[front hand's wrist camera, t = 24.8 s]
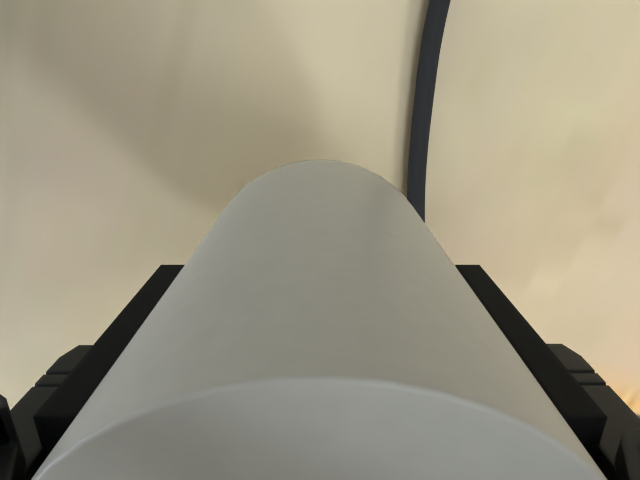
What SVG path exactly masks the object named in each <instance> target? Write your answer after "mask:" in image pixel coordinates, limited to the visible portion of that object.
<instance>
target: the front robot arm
mask: <svg viewBox="0 0 640 480" xmlns="http://www.w3.org/2000/svg"><path fill="white" fill-rule="evenodd" d="M449 4H450V0H430V1H429V6H428V11H427V15H426V20H425V26H424V31H423V36H422V43H421V49H420V55H419V63H418V71H417V80H416V89H415V98H414V107H413V116H412V126H411V137H410V149H409V163H408V186H407V200H408V201H409V203H410V204H411V205H412V206H413V208H414V209H415V210H416V212H417V213H418V215H419V216H420V217H421V219H422V220H423V222H424V223H425V180H426V164H427V152H428V141H429V132H430V123H431V114H432V106H433V98H434V90H435V82H436V74H437V67H438V60H439V53H440V48H441V42H442V37H443V32H444V27H445V22H446V17H447V13H448V8H449ZM183 267H184V265H161V266H160V267H159V268H158V269H157V270H156V271H155V273H154V274H153V275H152V276H151V277H150V279H149V280H148V281H147V282H146V283H145V285H144V286H143V287H142V288H141V289H140V290H139V292H138V293H137V294H136V295H135V296H134V298H133V299H132V300H131V301H130V302H129V303H128V305H127V306H126V307H125V308H124V309H123V311H122V312H121V313H120V314H119V315H118V317H117V318H116V319H115V320H114V321H113V322H112V324H111V325H110V326H109V327H108V328H107V330H106V331H105V332H104V333H103V334H102V335H101V337H100V338H99V339H98V340H97V341H96V343H95V344H94V345H79V346H77V347H75V348H74V349H72V350H71V351H69V352H68V353H66V354H64V355H63V356H61V357H60V358H59V359H58V360H57V361H56V362H55V363H54V364H53V365H52V366H51V367H50V368H49V369H48V371H47V372H46V375H43V376H42V377H41V378H40V379H39V380H38V381H37V382H36V383H35V387H32V388H31V389H30V390H29V391H28V392H27V393H26V394H25V395H24V396H23V398H22V399H21V400H20V401H19V402H18V403H17V404H16V405H15V406H14V407H13V408H12V409H11V410H10V409H9V406H8V403H7V400H6V398H5V397H3V396H2V395H0V480H31V479H32V478H33V476H34V475H35V473H36V472H37V471H38V469H39V468H40V466H41V465H42V464H43V462H44V461H45V459H46V458H47V457H48V455H49V454H50V452H51V451H52V450H53V448H54V447H55V446H56V444H57V443H58V441H59V440H60V439H61V437H62V436H63V434H64V433H65V432H66V430H67V429H68V427H69V426H70V425H71V423H72V422H73V420H74V419H75V418H76V416H77V415H78V413H79V412H80V411H81V409H82V408H83V406H84V405H85V404H86V402H87V401H88V399H89V398H90V397H91V395H92V394H93V392H94V391H95V390H96V388H97V387H98V386H99V384H100V383H101V381H102V380H103V379H104V377H105V376H106V374H107V373H108V372H109V370H110V369H111V367H112V366H113V365H114V363H115V362H116V360H117V359H118V358H119V356H120V355H121V353H122V352H123V351H124V349H125V348H126V346H127V345H128V344H129V342H130V341H131V339H132V338H133V337H134V335H135V334H136V332H137V331H138V330H139V328H140V327H141V325H142V324H143V323H144V321H145V320H146V319H147V317H148V316H149V314H150V313H151V312H152V310H153V309H154V307H155V306H156V305H157V303H158V302H159V300H160V299H161V298H162V296H163V295H164V293H165V292H166V291H167V289H168V288H169V286H170V285H171V284H172V282H173V281H174V279H175V278H176V277H177V275H178V274H179V272H180V271H181V270H182V268H183ZM455 267H456V268H457V269H458V271H459V272H460V274H461V275H462V276H463V278H464V279H465V281H466V282H467V283H468V285H469V286H470V288H471V289H472V290H473V292H474V293H475V295H476V296H477V297H478V299H479V300H480V302H481V303H482V304H483V306H484V307H485V309H486V310H487V312H488V313H489V314H490V316H491V317H492V319H493V320H494V321H495V323H496V324H497V326H498V327H499V328H500V330H501V331H502V333H503V334H504V335H505V337H506V338H507V340H508V341H509V342H510V344H511V345H512V347H513V348H514V349H515V351H516V352H517V354H518V355H519V356H520V358H521V359H522V361H523V362H524V363H525V365H526V366H527V368H528V369H529V370H530V372H531V373H532V375H533V376H534V378H535V379H536V380H537V382H538V383H539V385H540V386H541V387H542V389H543V390H544V392H545V393H546V394H547V396H548V397H549V399H550V400H551V401H552V403H553V404H554V406H555V407H556V408H557V410H558V411H559V413H560V414H561V415H562V417H563V418H564V420H565V421H566V422H567V424H568V425H569V427H570V428H571V429H572V431H573V432H574V434H575V435H576V436H577V438H578V439H579V441H580V442H581V443H582V445H583V446H584V448H585V449H586V451H587V452H588V453H589V455H590V456H591V458H592V459H593V460H594V462H595V463H596V465H597V466H598V467H599V469H600V470H601V472H602V473H603V474H604V476H605V477H606V479H607V480H640V419H639V418H638V417H637V415H636V414H635V413H634V412H633V411H632V410H631V409H630V408H629V407H628V406H627V405H626V404H625V403H624V402H623V400H622V399H621V398H620V397H619V396H618V395H617V394H616V393H615V392H614V391H613V390H612V389H611V388H610V387H609V386H606V382H605V381H604V380H603V379H602V378H601V377H600V376H599V375H598V374H597V373H595V372H594V371H595V370H594V369H593V368H592V367H591V366H590V365H589V364H588V363H587V362H586V361H585V360H584V359H583V358H582V357H581V356H580V355H579V354H577V353H575V352H574V351H572V350H571V349H569V348H567V347H566V346H564V345H563V344H546V343H545V342H544V341H543V340H542V339H541V337H540V336H539V335H538V334H537V333H536V332H535V330H534V329H533V328H532V327H531V326H530V324H529V323H528V322H527V321H526V320H525V319H524V317H523V316H522V315H521V314H520V313H519V311H518V310H517V309H516V308H515V307H514V305H513V304H512V303H511V302H510V301H509V300H508V298H507V297H506V296H505V295H504V294H503V292H502V291H501V290H500V289H499V288H498V287H497V285H496V284H495V283H494V282H493V281H492V279H491V278H490V277H489V276H488V275H487V273H486V272H485V271H484V270H483V269H482V268H481V266H480V265H455Z"/></svg>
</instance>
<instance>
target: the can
mask: <svg viewBox="0 0 640 480" xmlns="http://www.w3.org/2000/svg"><path fill="white" fill-rule="evenodd" d="M31 480H607V479H606V477H605V476H604V474H603V473H602V472H601V470H600V469H599V467H598V466H597V465H596V463H595V462H594V460H593V459H592V458H591V456H590V455H589V453H588V452H587V451H586V449H585V448H584V446H583V445H582V443H581V442H580V441H579V439H578V438H577V436H576V435H575V434H574V432H573V431H572V429H571V428H570V427H569V425H568V424H567V422H566V421H565V420H564V418H563V417H562V415H561V414H560V413H559V411H558V410H557V408H556V407H555V406H554V404H553V403H552V401H551V400H550V399H549V397H548V396H547V394H546V393H545V392H544V390H543V389H542V387H541V386H540V385H539V383H538V382H537V380H536V379H535V378H534V376H533V375H532V373H531V372H530V370H529V369H528V368H527V366H526V365H525V363H524V362H523V361H522V359H521V358H520V356H519V355H518V354H517V352H516V351H515V349H514V348H513V347H512V345H511V344H510V342H509V341H508V340H507V338H506V337H505V335H504V334H503V333H502V331H501V330H500V328H499V327H498V326H497V324H496V323H495V321H494V320H493V319H492V317H491V316H490V314H489V313H488V312H487V310H486V309H485V307H484V306H483V304H482V303H481V302H480V300H479V299H478V297H477V296H476V295H475V293H474V292H473V290H472V289H471V288H470V286H469V285H468V283H467V282H466V281H465V279H464V278H463V276H462V275H461V274H460V272H459V271H458V269H457V268H456V267H455V265H454V264H453V262H452V261H451V260H450V258H449V257H448V255H447V254H446V253H445V251H444V250H443V248H442V247H441V246H440V244H439V243H438V241H437V240H436V239H435V237H434V236H433V234H432V233H431V231H430V230H429V229H428V227H427V226H426V224H425V223H424V222H423V220H422V219H421V217H420V216H419V215H418V213H417V212H416V210H415V209H414V208H413V206H412V205H411V204H410V203H409V201H408V200H407V199H406V197H405V196H404V195H403V194H402V193H401V192H400V191H399V190H398V189H397V188H396V187H394V186H393V185H392V184H391V183H389V182H388V181H386V180H385V179H384V178H382V177H381V176H379V175H377V174H375V173H373V172H371V171H369V170H367V169H364V168H362V167H359V166H356V165H353V164H349V163H345V162H340V161H332V160H306V161H300V162H294V163H290V164H287V165H284V166H280V167H277V168H275V169H273V170H271V171H268V172H266V173H264V174H262V175H261V176H259V177H258V178H256V179H254V180H253V181H251V182H250V183H249V184H248V185H246V186H245V187H244V188H243V189H242V190H241V191H239V192H238V194H237V195H236V196H235V197H234V198H233V199H232V200H231V202H230V203H229V204H228V205H227V207H226V208H225V210H224V211H223V212H222V214H221V215H220V217H219V218H218V219H217V221H216V222H215V224H214V225H213V226H212V228H211V229H210V231H209V232H208V233H207V235H206V236H205V238H204V239H203V240H202V242H201V243H200V245H199V246H198V247H197V249H196V250H195V252H194V253H193V254H192V256H191V257H190V258H189V260H188V261H187V263H186V264H185V265H184V267H183V268H182V270H181V271H180V272H179V274H178V275H177V277H176V278H175V279H174V281H173V282H172V284H171V285H170V286H169V288H168V289H167V291H166V292H165V293H164V295H163V296H162V298H161V299H160V300H159V302H158V303H157V305H156V306H155V307H154V309H153V310H152V312H151V313H150V314H149V316H148V317H147V319H146V320H145V321H144V323H143V324H142V325H141V327H140V328H139V330H138V331H137V332H136V334H135V335H134V337H133V338H132V339H131V341H130V342H129V344H128V345H127V346H126V348H125V349H124V351H123V352H122V353H121V355H120V356H119V358H118V359H117V360H116V362H115V363H114V365H113V366H112V367H111V369H110V370H109V372H108V373H107V374H106V376H105V377H104V379H103V380H102V381H101V383H100V384H99V386H98V387H97V388H96V390H95V391H94V392H93V394H92V395H91V397H90V398H89V399H88V401H87V402H86V404H85V405H84V406H83V408H82V409H81V411H80V412H79V413H78V415H77V416H76V418H75V419H74V420H73V422H72V423H71V425H70V426H69V427H68V429H67V430H66V432H65V433H64V434H63V436H62V437H61V439H60V440H59V441H58V443H57V444H56V446H55V447H54V448H53V450H52V451H51V452H50V454H49V455H48V457H47V458H46V459H45V461H44V462H43V464H42V465H41V466H40V468H39V469H38V471H37V472H36V473H35V475H34V476H33V478H32V479H31Z"/></svg>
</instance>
